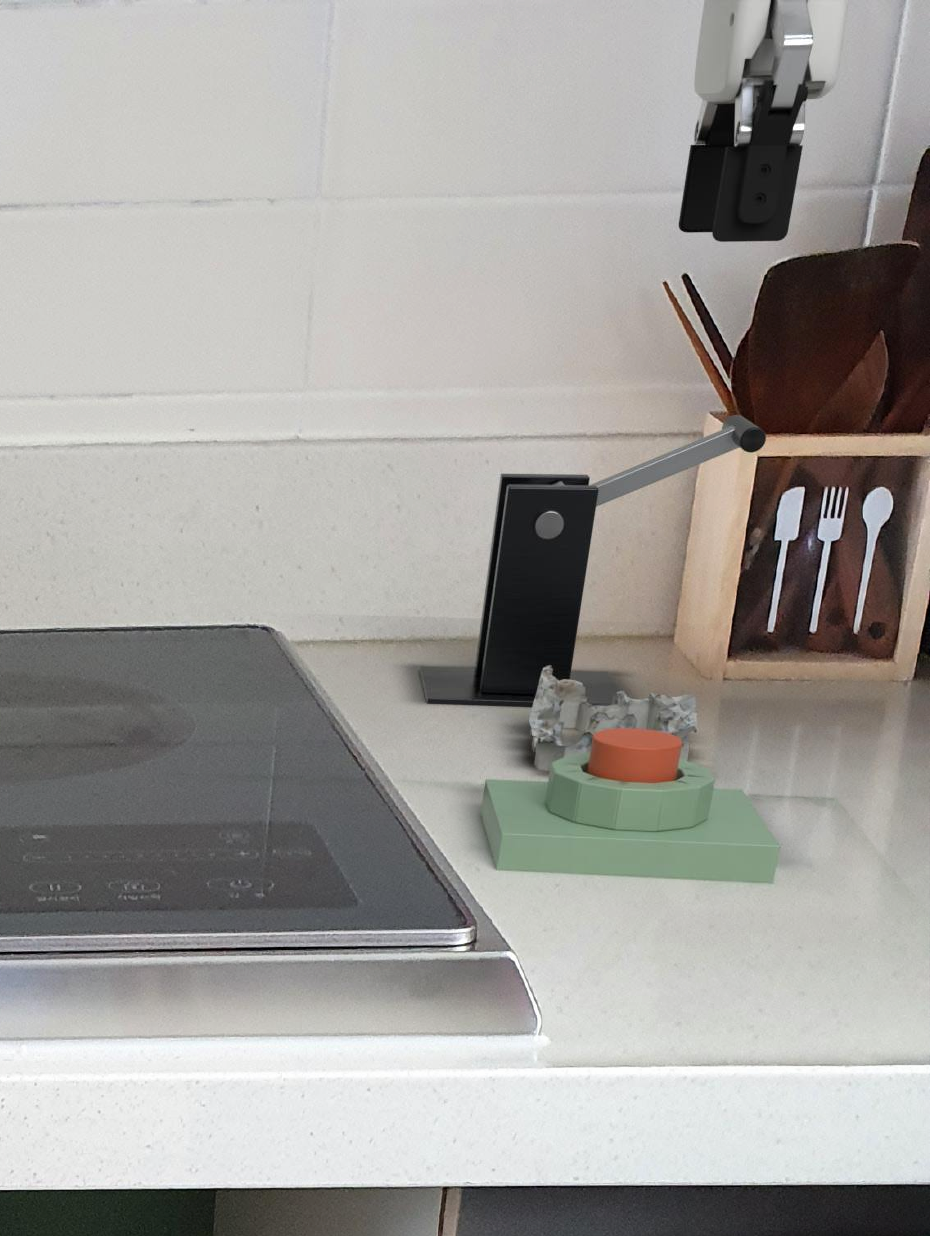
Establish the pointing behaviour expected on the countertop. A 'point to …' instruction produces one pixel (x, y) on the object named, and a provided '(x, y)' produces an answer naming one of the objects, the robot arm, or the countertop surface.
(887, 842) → the countertop surface
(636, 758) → the button
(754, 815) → the button box
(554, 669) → the bracket
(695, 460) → the lever
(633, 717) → the egg carton
